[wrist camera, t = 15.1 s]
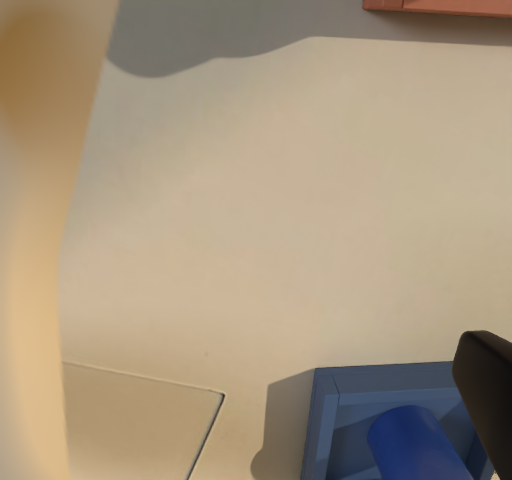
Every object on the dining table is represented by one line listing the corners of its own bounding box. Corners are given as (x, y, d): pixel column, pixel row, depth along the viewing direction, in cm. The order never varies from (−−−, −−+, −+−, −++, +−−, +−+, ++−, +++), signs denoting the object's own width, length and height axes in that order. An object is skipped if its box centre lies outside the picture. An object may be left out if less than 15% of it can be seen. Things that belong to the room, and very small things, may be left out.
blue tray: (299, 484, 30) (307, 516, 28) (314, 368, 25) (324, 395, 24) (465, 470, 31) (483, 499, 29) (505, 358, 27) (528, 383, 25)
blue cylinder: (361, 460, 28) (393, 542, 24) (373, 407, 27) (409, 484, 22) (428, 455, 29) (471, 533, 24) (443, 402, 27) (493, 477, 23)
